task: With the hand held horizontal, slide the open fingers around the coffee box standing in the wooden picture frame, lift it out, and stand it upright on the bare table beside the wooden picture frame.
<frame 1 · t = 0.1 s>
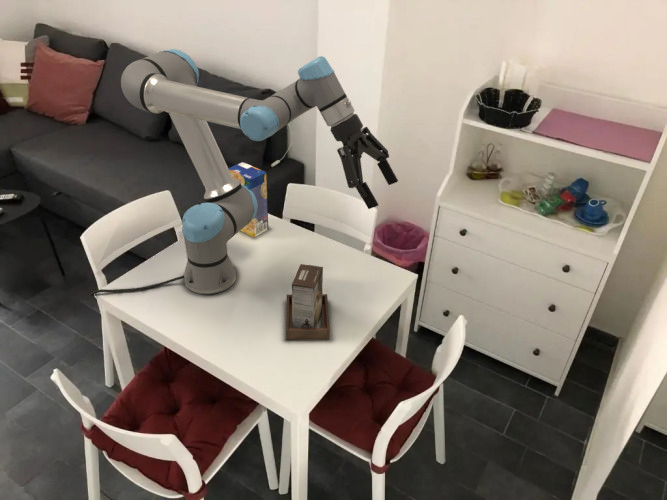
hand: (383, 194, 137), 36 cm above the table, tool tilted 35°, fingers open, 13 cm apart
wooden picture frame: (307, 320, 150), on the table
coffee box: (307, 320, 150), resting in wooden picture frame
beverage box: (250, 228, 187), on the table
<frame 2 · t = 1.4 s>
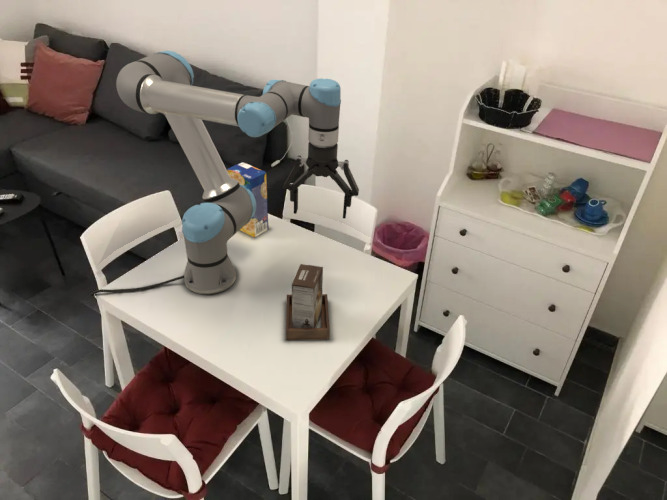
hand: (320, 213, 150), 25 cm above the table, tool pointing down, fingers open, 13 cm apart
nothing on the table moved.
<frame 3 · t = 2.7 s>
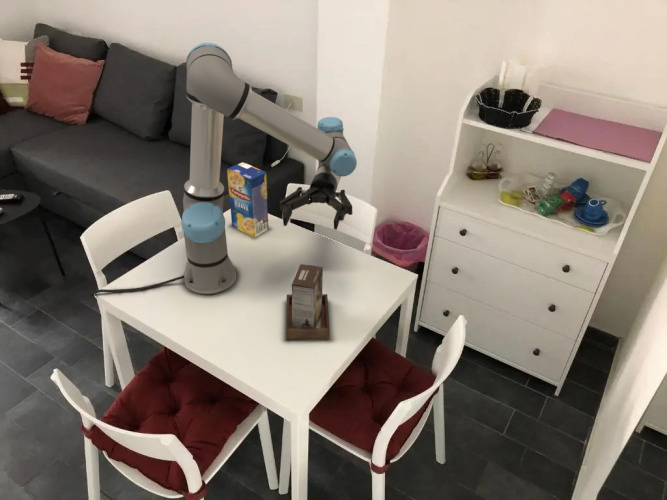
hand: (309, 223, 142), 27 cm above the table, tool horizontal, fingers open, 13 cm apart
nothing on the table moved.
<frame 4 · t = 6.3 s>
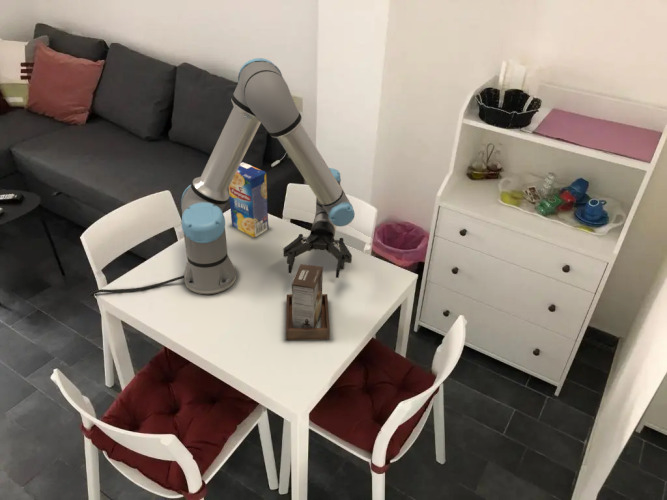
hand: (313, 271, 153), 10 cm above the table, tool horizontal, fingers open, 13 cm apart
nothing on the table moved.
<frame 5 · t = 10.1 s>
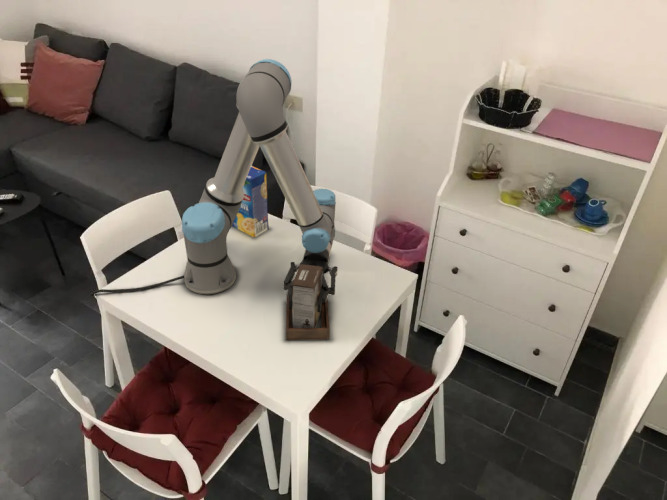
hand: (304, 306, 141), 10 cm above the table, tool horizontal, fingers closed on coffee box, 7 cm apart
coffee box: (307, 320, 150), resting in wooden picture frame, touching gripper
everything else where it was.
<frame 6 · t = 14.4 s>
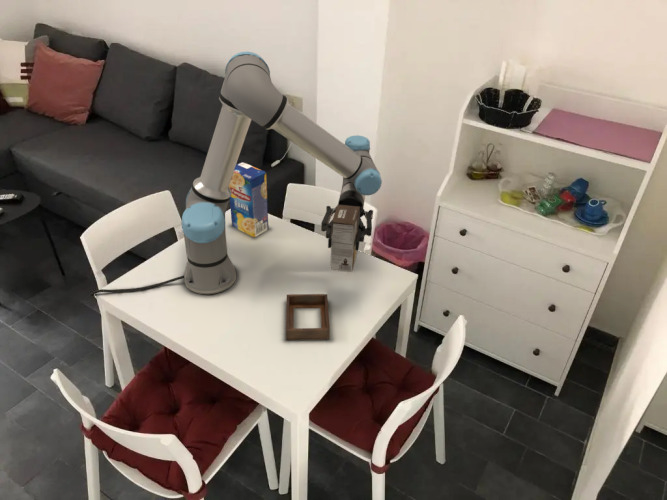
hand: (343, 245, 142), 22 cm above the table, tool horizontal, fingers closed on coffee box, 7 cm apart
coffee box: (343, 262, 152), point 12 cm above the table, touching gripper
everything else where it was.
when the fingers open (9 cm above the table, at t = 18.6 s): coffee box stays where it is, on the table.
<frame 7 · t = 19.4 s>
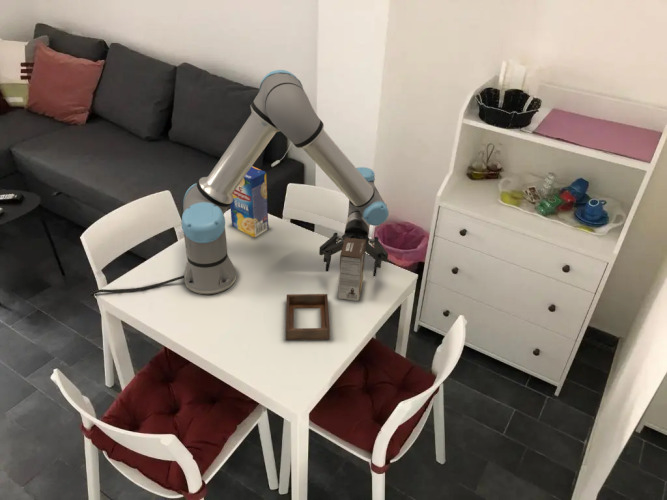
hand: (350, 270, 153), 10 cm above the table, tool horizontal, fingers open, 13 cm apart
coffee box: (350, 290, 162), on the table
everything else where it was.
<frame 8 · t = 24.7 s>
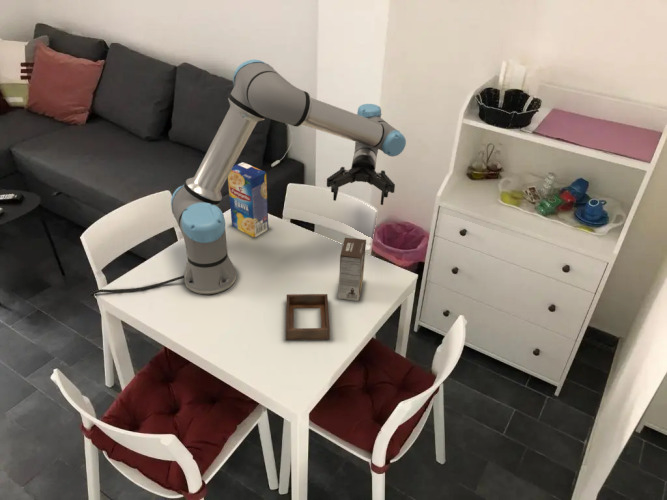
hand: (358, 198, 154), 26 cm above the table, tool horizontal, fingers open, 13 cm apart
nothing on the table moved.
at the end: coffee box inside the target area (0.1 cm from its centre), on the table; coffee box tilted 0°; the gripper is holding nothing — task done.
